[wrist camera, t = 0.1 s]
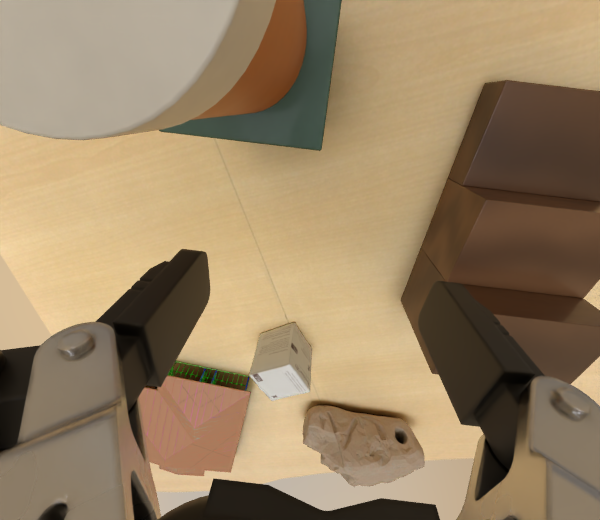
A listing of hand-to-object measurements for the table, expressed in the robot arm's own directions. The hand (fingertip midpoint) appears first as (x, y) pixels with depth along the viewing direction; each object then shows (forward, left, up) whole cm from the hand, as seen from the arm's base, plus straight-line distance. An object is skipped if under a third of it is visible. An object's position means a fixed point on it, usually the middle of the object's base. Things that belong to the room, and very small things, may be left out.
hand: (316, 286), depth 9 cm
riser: (+3, +20, -20) cm, 28 cm away
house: (+49, -20, -20) cm, 57 cm away
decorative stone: (+43, +14, -20) cm, 50 cm away
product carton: (+25, -1, -20) cm, 32 cm away
